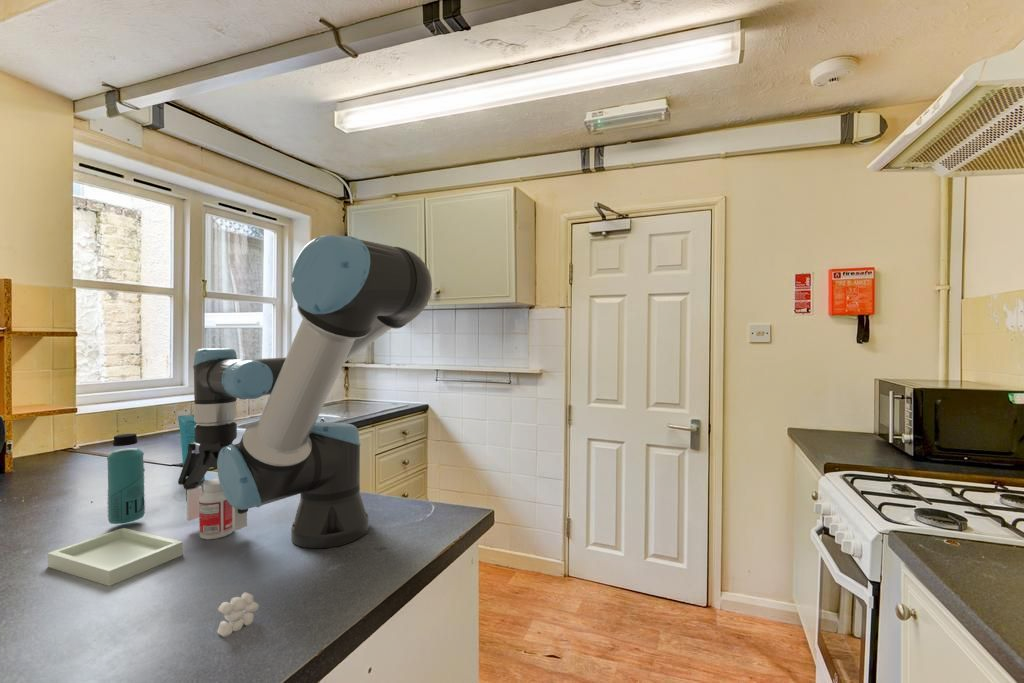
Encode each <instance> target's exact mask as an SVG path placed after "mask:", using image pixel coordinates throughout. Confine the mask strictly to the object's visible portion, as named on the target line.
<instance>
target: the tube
mask: <svg viewBox="0 0 1024 683" xmlns="http://www.w3.org/2000/svg"><path fill="white" fill-rule="evenodd" d="M177 419H178V420H177V421H178V427H179V433H180V445H181V455H182V457H181V458H182V459H181V460H182V467H183V466H184V463H185V460H186V457H187V454H188V445H189V444H191V443H195V440H194V427H195V426H196V425H197V424H198V423H196V422H195V421H194V414H186V415H178V416H177ZM205 475H206V474H205ZM205 475H204V477H203V478H202V480H201V482H202V481H204V480H205V477H206V476H205ZM186 477H188V476H186Z"/></svg>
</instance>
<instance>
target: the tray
mask: <svg viewBox="0 0 1024 683" xmlns="http://www.w3.org/2000/svg"><path fill="white" fill-rule="evenodd" d="M181 556H184V541H181V540H176V539H174V538H168V537H164V536H160V535H156V534H151V533H148V532H142V531H138V530H134V529H130V528H125V527H122V528H119V529H115V530H112V531H110V532H107V533H104V534H101V535H97V536H95V537H92V538H89V539H85V540H83V541H80V542H76V543H74V544H71V545H69V546H68V545H67V546H65V547H61V548H59V549H56V550H52V551H49V552H48V553H47V568H50V569H53V570H56V571H60V572H63V573H65V574H69V575H71V576H72V575H73V576H76V577H79V578H82V579H85V580H88V581H92V582H95V583H98V584H101V585H104V586H108V587H110V586H113V585H116V584H118V583H120V582H123V581H125V580H127V579H130V578H132V577H135V576H137V575H139V574H141V573H144V572H146V571H149V570H151V569H153V568H155V567H158V566H160V565H163V564H164V563H167V562H170V561H172V560H174V559H177V558H179V557H181Z"/></svg>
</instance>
